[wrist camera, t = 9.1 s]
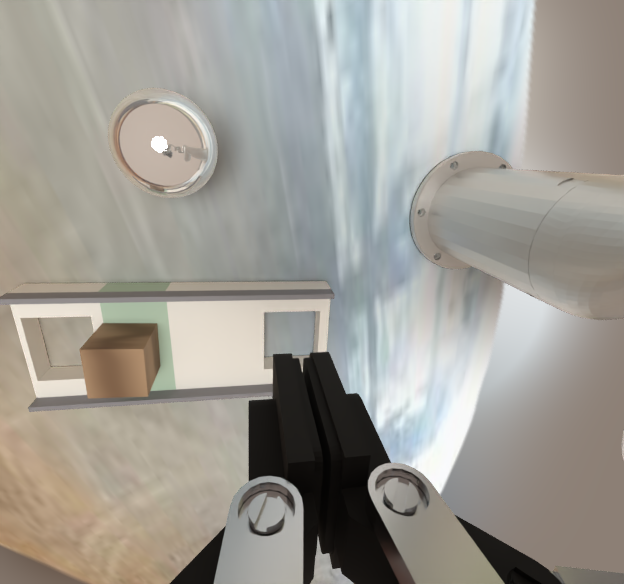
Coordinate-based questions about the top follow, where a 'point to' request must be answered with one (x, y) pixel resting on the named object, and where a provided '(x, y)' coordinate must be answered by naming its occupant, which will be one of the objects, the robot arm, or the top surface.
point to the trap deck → (169, 335)
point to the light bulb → (162, 142)
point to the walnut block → (121, 360)
